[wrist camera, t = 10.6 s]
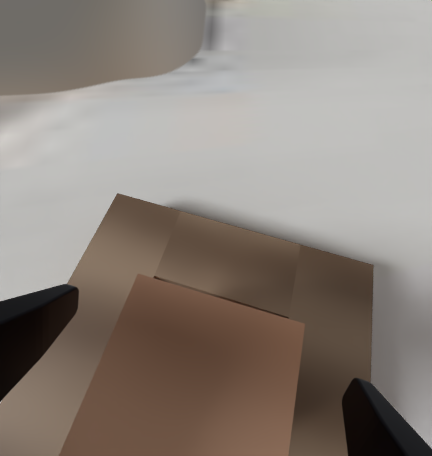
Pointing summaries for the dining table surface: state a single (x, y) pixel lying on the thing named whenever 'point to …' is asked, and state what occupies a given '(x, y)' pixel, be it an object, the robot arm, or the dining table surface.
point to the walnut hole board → (212, 285)
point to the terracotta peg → (190, 379)
